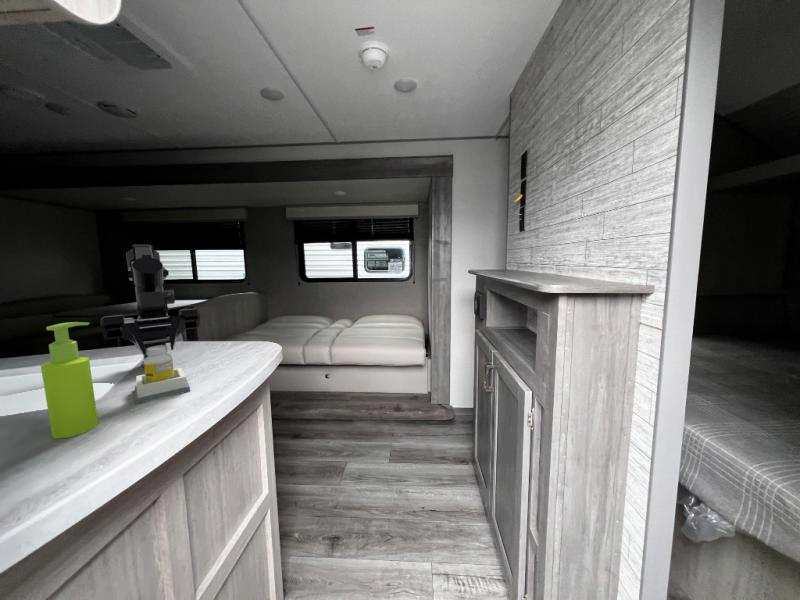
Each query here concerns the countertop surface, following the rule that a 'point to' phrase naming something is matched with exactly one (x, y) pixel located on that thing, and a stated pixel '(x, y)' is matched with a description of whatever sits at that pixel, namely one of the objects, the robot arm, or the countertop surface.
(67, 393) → the soap dispenser
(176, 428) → the countertop surface
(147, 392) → the cream square open box
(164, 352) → the supplement bottle
